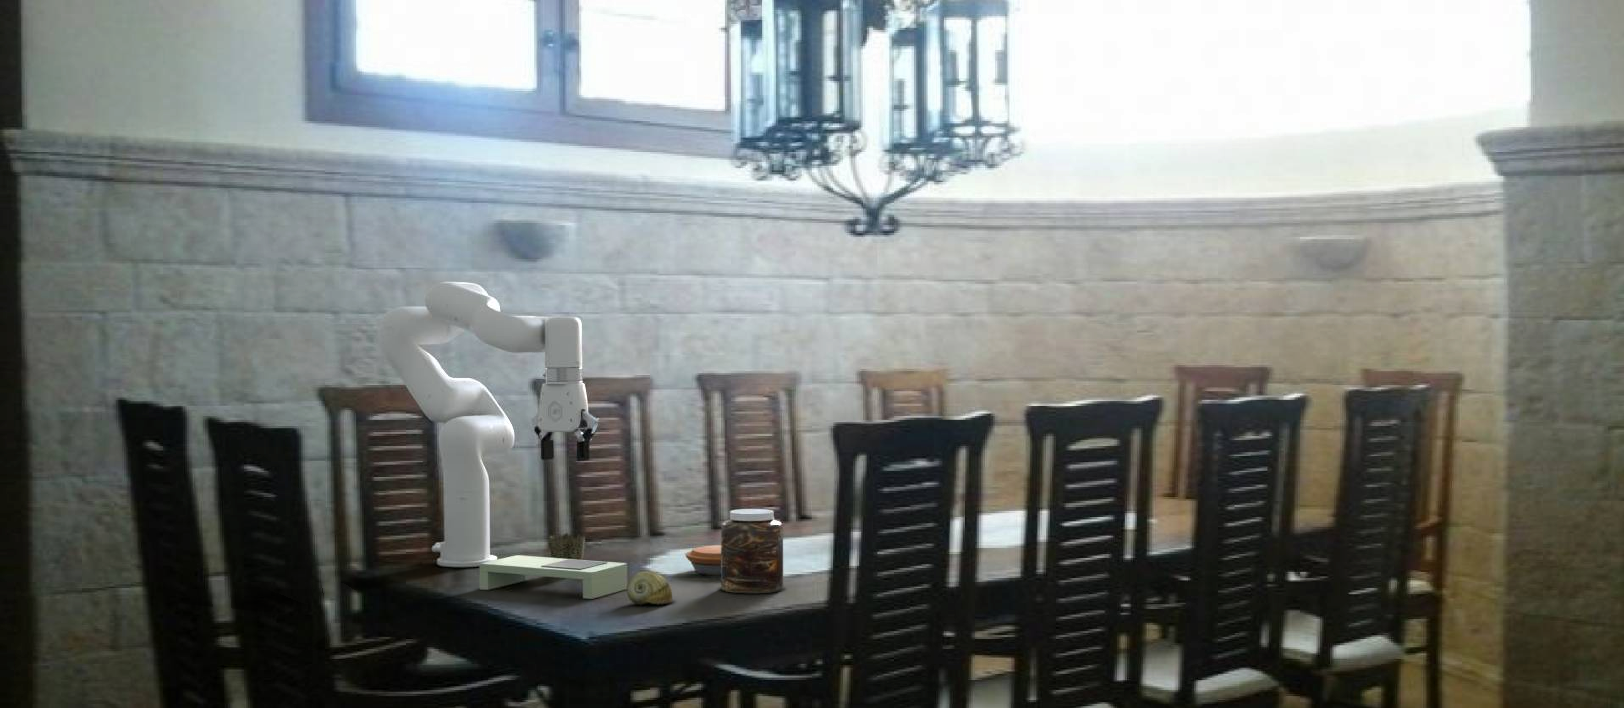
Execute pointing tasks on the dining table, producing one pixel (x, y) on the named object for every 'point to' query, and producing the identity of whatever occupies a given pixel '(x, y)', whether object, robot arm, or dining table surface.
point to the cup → (567, 546)
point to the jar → (752, 552)
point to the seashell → (649, 589)
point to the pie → (706, 559)
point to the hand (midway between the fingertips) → (565, 460)
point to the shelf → (556, 573)
